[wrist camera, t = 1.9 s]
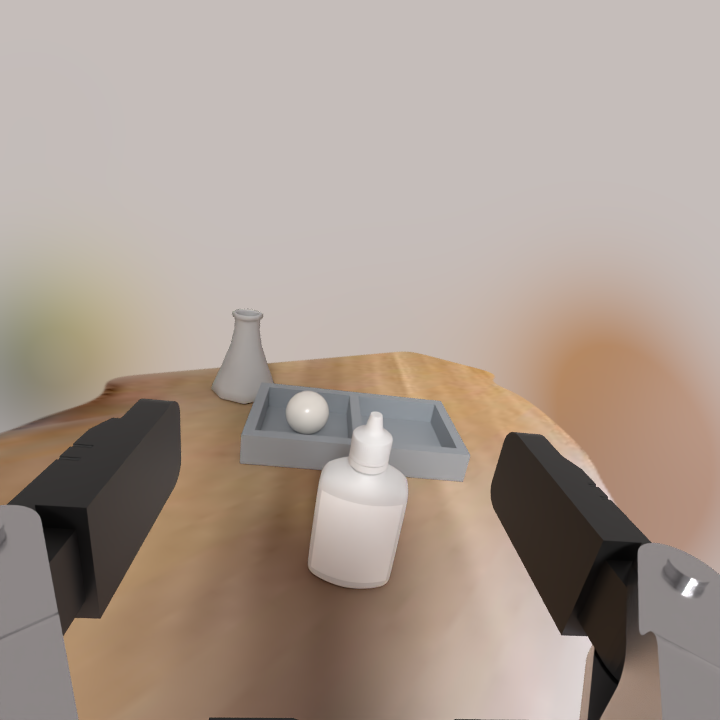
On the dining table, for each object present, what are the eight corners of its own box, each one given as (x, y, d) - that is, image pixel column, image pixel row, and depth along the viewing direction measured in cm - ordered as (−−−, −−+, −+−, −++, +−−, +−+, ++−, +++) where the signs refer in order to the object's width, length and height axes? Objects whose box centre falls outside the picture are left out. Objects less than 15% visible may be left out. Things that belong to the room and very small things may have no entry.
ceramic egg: (281, 440, 40) (285, 401, 38) (286, 418, 44) (289, 381, 42) (326, 444, 40) (331, 405, 38) (326, 422, 44) (331, 386, 43)
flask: (244, 373, 54) (247, 301, 51) (286, 391, 51) (292, 315, 47) (199, 390, 48) (199, 309, 45) (243, 411, 45) (248, 326, 41)
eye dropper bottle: (365, 615, 25) (400, 449, 20) (296, 564, 27) (315, 408, 23) (398, 570, 28) (435, 420, 24) (335, 528, 31) (358, 387, 27)
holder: (239, 463, 36) (241, 434, 35) (260, 405, 47) (261, 382, 45) (462, 481, 39) (470, 455, 38) (435, 423, 49) (440, 401, 48)
